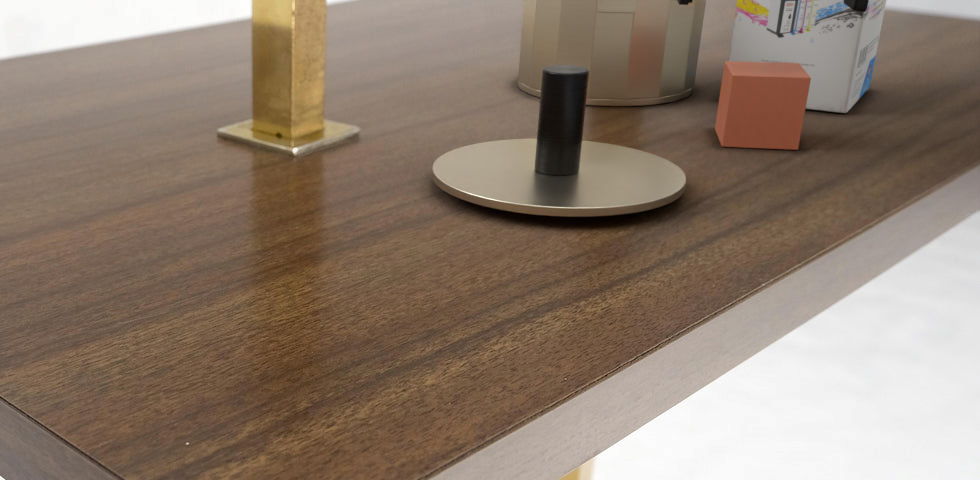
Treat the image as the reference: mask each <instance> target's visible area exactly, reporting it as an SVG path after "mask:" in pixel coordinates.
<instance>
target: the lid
mask: <svg viewBox="0 0 980 480" xmlns="http://www.w3.org/2000/svg"><path fill="white" fill-rule="evenodd" d="M588 77H589V70H588V69H587V68H584V67H581V66H574V65H553V66H548V67H545V68H543V72H542V84H541V96H540V97H539V108H538V109H539V110H538V121H537V132H536V138H512V139H511V138H510V139H499V140H491V141H484V142H478V143H473V144H467V145H465V146H461V147H457V148H455V149H452V150H449V151H447V152H445V153H443V154H442V155H440V156H439V157H437V158H436V159H435V160H434V162H433V163H432V168H431V178H432V181H433V182H434V183H435V185H436V186H437V187H438V188H439V189H441V190H442V191H443V192H445V193H446V194H449V195H450V196H453V197H455V198H457V199H460V200H462V201H465V202H469V203H471V204H474V205H478V206H481V207H485V208H490V209H494V210H499V211H505V212H511V213H517V214H526V215H534V216H546V217H547V216H548V217H563V218H564V217H565V218H591V217H594V218H595V217H610V216H611V217H612V216H621V215H628V214H630V215H631V214H637V213H642V212H646V211H651V210H654V209H657V208H661V207H664V206H666V205H669V204H671V203H673V202H674V201H676V200H678V199H679V198H680V197H681V196H682V195H683V194H684V192H685V190H686V188H687V187H686V186H687V175H686V174H685V171H684V170H682V168H681V167H679V166H678V165H677V164H675V163H674V162H672V161H670V160H668V159H666V158H664V157H661V156H659V155H656V154H653V153H650V152H647V151H643V150H640V149H637V148H632V147H628V146H624V145H623V146H622V145H619V144H614V143H613V144H612V143H606V142H600V141H592V140H591V141H590V140H583V136H584V135H583V134H584V126H585V115H586V106H587V105H586V97H587V87H588Z"/></svg>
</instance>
